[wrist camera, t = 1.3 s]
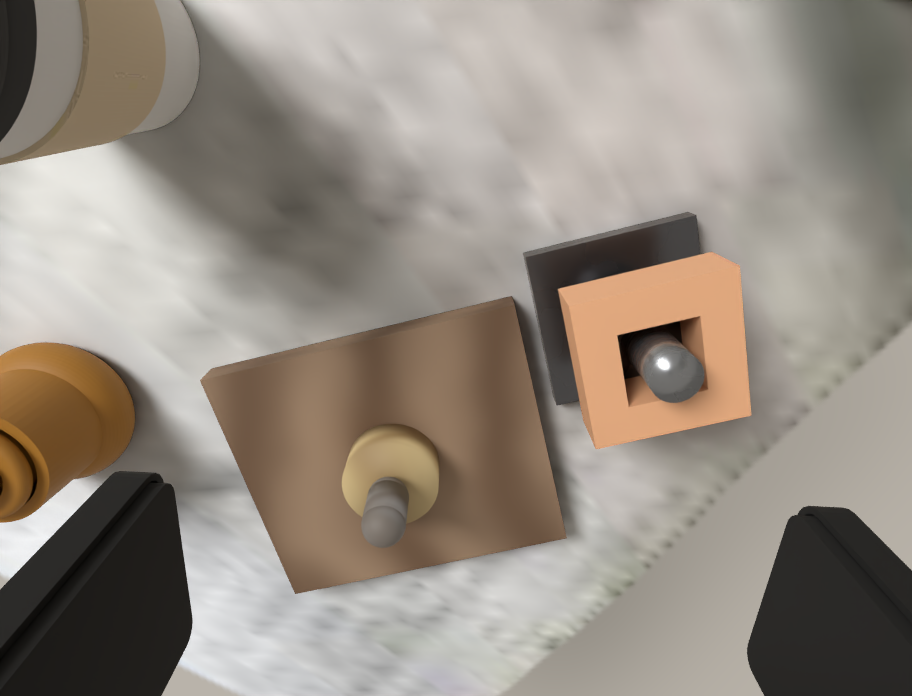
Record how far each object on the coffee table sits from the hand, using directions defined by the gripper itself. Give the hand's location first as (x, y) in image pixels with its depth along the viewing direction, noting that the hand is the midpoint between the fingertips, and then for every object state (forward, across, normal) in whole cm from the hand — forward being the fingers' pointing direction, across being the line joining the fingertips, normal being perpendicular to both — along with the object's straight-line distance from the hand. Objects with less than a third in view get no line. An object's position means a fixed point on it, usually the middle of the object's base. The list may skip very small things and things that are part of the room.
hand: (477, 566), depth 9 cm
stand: (+21, -8, +2) cm, 23 cm away
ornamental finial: (+21, +20, +9) cm, 31 cm away
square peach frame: (+17, -8, +2) cm, 19 cm away
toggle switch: (+21, +3, +11) cm, 24 cm away
